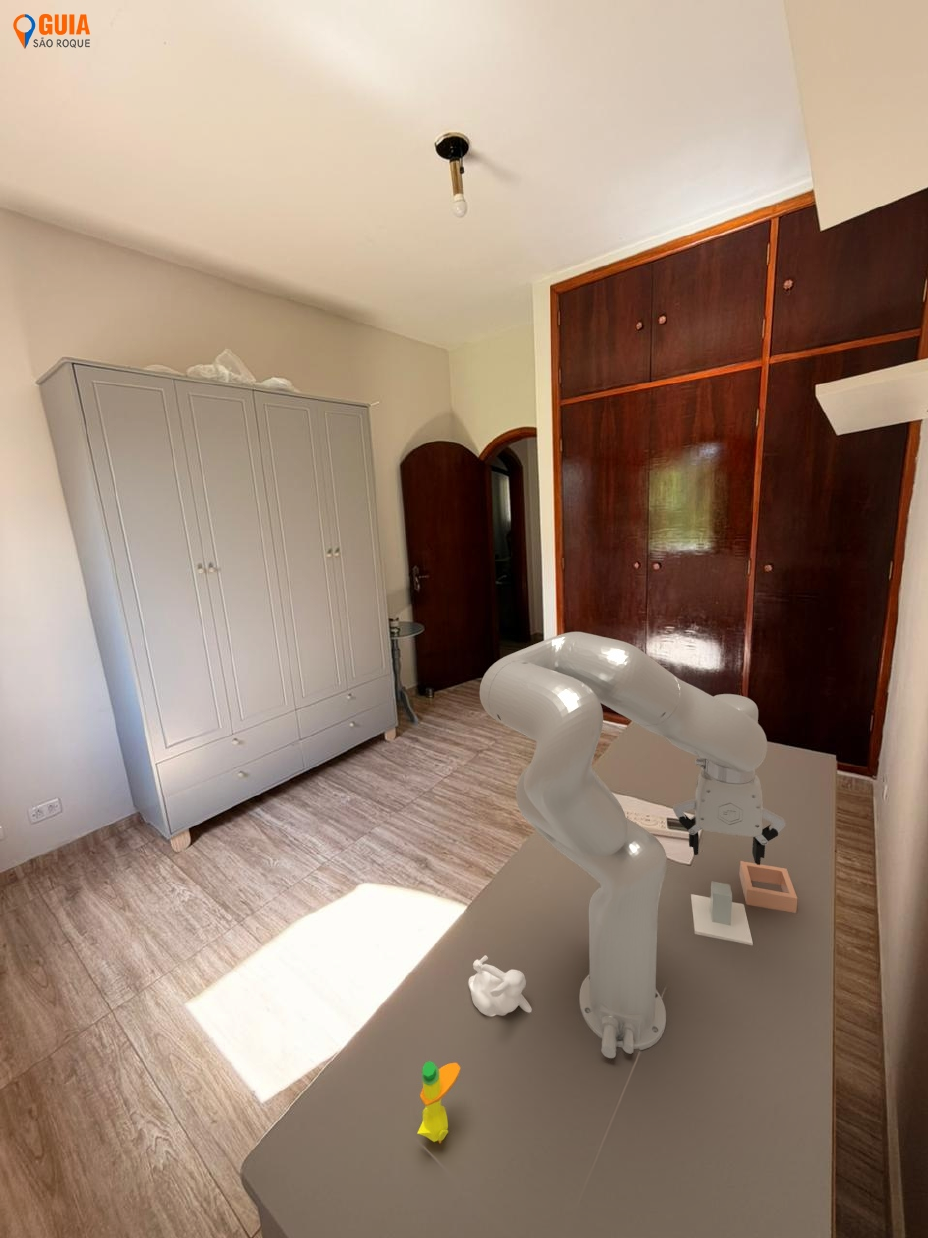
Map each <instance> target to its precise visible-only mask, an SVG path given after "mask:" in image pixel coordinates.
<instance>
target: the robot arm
mask: <svg viewBox="0 0 928 1238" xmlns="http://www.w3.org/2000/svg"><path fill="white" fill-rule="evenodd" d="M479 686H480V687H479V700H480V702H481V705H482V707H483V709H484V711H485V712H486V713H487V715H489V716H490V717H491V718H493V719H494V720H495V721H496V722H498V723H501V725H502V724H503V725H504V726H506V727H507V728H509V729H512V730H514V731H516V732H517V733H520V734H522V735H523V736H526V737H527V738H529V739H531V740H533V741H535V743H536V745H535V750H534V754H533V755H532V758H531V761H530V764H529V765H528V766H527V767H525V769H524V770H523V771H522V773H521V774H520V776H519V779H518V781H517V785H516V790H515V797H516V798H515V799H516V804H517V808H518V810H519V812H520V814H521V815H522V817H523V818H524V819H525V820H526V821H527V822H528V824H530V825H531V826H532V827H533V828H534V829H535V830H536V831H537V832H538V833H539V834H540V835H541V836H542V837H543V838H544V839H545V840H546V841H547V842H548V843H549V844H550V845H552V846H553V847H554V848H555V849H556V850H557V851H558V852H560V854H562V855H563V856H565V857H566V858H568V859H569V860H571V862H573V863H574V864H576V865H577V866H579V868H581V869H582V870H584V871H585V872H586V873H587V874H588V875H590V876H591V877H592V878H594V880H596V881H597V882H598V884H600V887H598V889H596V890H595V891H594V893H593V894H592V896H591V898H590V901H589V904H588V905H589V906H588V923H589V924H588V926H589V927H588V928H589V930H588V931H589V932H588V933H589V936H588V938H589V943H588V945H589V955H588V956H589V958H588V959H589V973H588V974H587V975H586V977H585V978H584V979H583V981H582V982H581V986H580V988H579V1007H580V1013H581V1014H582V1017H583V1019H584V1022H585V1023H586V1025H587V1026H588V1027H589V1029H591V1031H592V1032H593V1033H594V1034H595V1035H596V1036H597V1037H599V1038H600V1039H601V1054H602V1055H603V1056H604V1057H606V1058H608V1059H614V1058H615V1057H616V1055H617V1047H619V1048H622V1050H623V1051H624V1052H625V1053H627V1054H632V1053H634V1050H635V1049H636V1050H637V1049H639V1051H643V1050H646V1049H648V1048H651V1047H653V1046H654V1045H655V1044H657V1043H658V1042H659V1041H660V1039H661V1038H662V1036H663V1035H664V1032H665V1029H666V1024H667V1011H666V1006H665V1004H664V1000H663V998H662V996H661V995H660V993H659V991H658V990H657V988H656V987H657V986H656V984H657V980H656V979H657V950H658V949H657V948H658V947H657V943H658V914H659V913H658V912H659V911H658V910H659V903H660V896H661V891H662V888H663V884H664V881H665V877H666V874H667V873H666V872H667V868H668V867H667V866H668V856H667V853H666V850H665V848H664V846H663V844H662V843H661V841H660V840H659V839H658V838H657V837H656V836H655V835H654V834H653V833H652V832H650V831H649V830H648V829H646V828H645V827H643V826H641V825H640V824H638V823H637V822H635V821H634V820H632V819H630V818H628V817H627V816H626V814H625V811H624V808H623V806H622V805H621V803H620V802H619V800H618V799H617V797H616V796H615V795H614V793H613V792H612V791H611V790H610V789H609V787H608V786H607V785H606V784H605V783H604V781H603V780H602V779H601V778H600V777H599V776H598V774H597V773H596V772H595V770H594V769H593V767H592V763H593V760H594V756H595V754H596V750H597V747H598V743H599V741H600V738H601V735H602V731H603V725H604V712H603V708H602V705H604V706H606V707H607V708H610V709H611V710H612V711H614V712H616V713H618V715H622V716H623V717H625V718H627V719H629V720H630V721H632V722H633V723H634V724H636V725H639V727H641V728H642V729H645V730H647V731H649V732H651V733H653V734H656V735H658V736H659V737H662V738H665V739H667V740H668V741H669V743H670V744H671V745H672V746H674V747H676V748H678V749H680V750H682V751H684V752H687V753H689V754H692V755H694V756H697V757H695V766H700V767H701V768H700V771H699V773H698V778H697V783H696V788H695V789H696V790H695V795H694V796H695V797H694V798H690V799H687V800H684V801H681V802H677V803H674V804H673V805H672V809H673V812H674V814H675V816H676V818H677V819H678V821H679V824H681V825H682V826H683V827H684V829H686V831H687V832H688V847H689V848H692V849H693V851H692V852H693V855H695V856H698V855H699V845H700V842H699V841H700V838H699V837H700V835H699V832H700V831H701V830H702V831H706V832H712V833H719V834H725V835H731V836H732V835H733V836H739V837H747V838H748V837H749V838H752V857H753V861H754V863H755V864H757V865H760V864H761V860H762V859H765V854H766V853H765V852H766V846H767V845H769V841H772V840H773V839H775V838H777V837H778V836H779V833H780V832H781V831H782V830H783V829H784V827H786V825H787V824H786V821H785V819H784V817H783V816H780V815H778V814H776V813H774V812H773V811H771V810H769V809H767V808H765V807H764V806H763V804H764V803H763V792H762V784H761V780H760V778H759V776H758V775H757V774H756V772H755V771H756V770H757V769H758V768H759V767H760V766H761V765H762V763H763V762H764V761H765V758H766V755H767V751H768V740H767V735H766V733H765V731H764V729H763V727H762V726H761V725H760V724H759V721H758V720H759V709H758V705H757V704H756V703H755V702H754V701H753V700H752V699H751V698H749V697H747V696H742V695H739V694H732V693H723V694H722V693H721V694H716V695H714V696H713V695H711V694H709V693H707V692H705V691H704V690H702V689H700V688H698V687H696V686H694V685H692V684H690V683H687V682H686V681H684V680H682V679H680V678H678V677H677V676H675V675H674V674H673V673H672V672H670V671H669V670H668V669H666V668H665V667H664V666H663V665H661V664H659V663H658V662H656V660H654V659H653V658H652V657H650V656H649V655H648V654H646V653H645V652H644V651H642V650H641V649H640V648H638V647H636V646H635V645H634V644H631V643H629V642H625V641H623V640H618V639H614V638H609V637H606V636H605V637H604V636H601V635H597V634H592V633H588V632H583V631H570V632H565V633H562V634H559V635H555V636H552V637H549V638H547V639H545V640H542V641H540V642H538V643H535V644H534V643H533V645H530V646H528V647H526V648H523V649H520V650H518V651H515V652H513V653H510V654H507V655H506V656H503V657H502V658H500V659H498V660H497V661H496V662H494V663H493V664H492V665H491V666H490V667H489V668H488V669H487V670H486V672H485V673H484V675H483V677H482V679H481V681H480V685H479ZM691 810H694V813H695V814H694V815H693V816H692V817H691V818H690V817H688V815H686V814H685V813H686V812H688V811H691ZM764 820H766V821H768V822H769V823H770V824H769V825H766V827H764V823H763V822H764ZM763 827H764V828H763Z"/></svg>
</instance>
